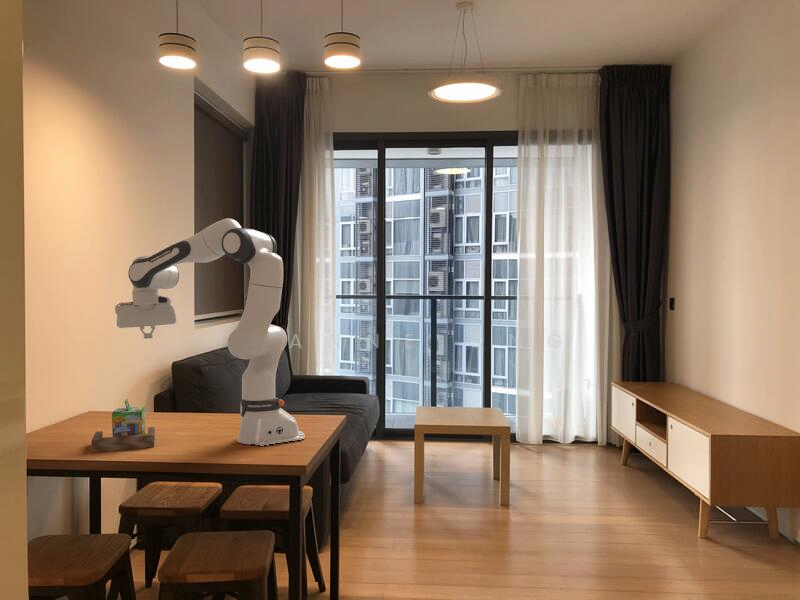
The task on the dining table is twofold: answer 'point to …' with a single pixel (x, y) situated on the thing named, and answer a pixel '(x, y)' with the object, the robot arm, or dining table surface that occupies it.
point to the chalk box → (128, 421)
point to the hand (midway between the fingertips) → (148, 338)
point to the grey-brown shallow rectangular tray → (122, 441)
